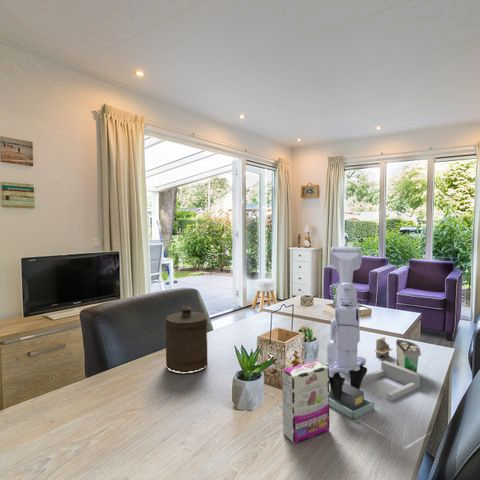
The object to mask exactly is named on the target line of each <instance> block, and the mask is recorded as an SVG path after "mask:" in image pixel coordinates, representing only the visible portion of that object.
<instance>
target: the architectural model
mask: <svg viewBox="0 0 480 480" xmlns="http://www.w3.org/2000/svg"><path fill="white" fill-rule="evenodd" d="M375 343H376V344H375V345H376V346H375V348H376V349H375V350H374V352H375V353H376V354H375V357H376V358H380V357H384V358H386V357H387V356H390V352H391V351H393V348H391V347H390V344H389V343H387V342H386V336H383V337H380V338H378V339H376V341H375Z"/></svg>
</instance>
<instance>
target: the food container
mask: <svg viewBox="0 0 480 480" xmlns="http://www.w3.org/2000/svg"><path fill="white" fill-rule="evenodd" d="M395 341H396V342H395V343H396V365H398V366H401V367H403V368H406V369H409V370H411V371H414V372H417V373H418V364H419V357H420V356H421V355H422V353H421V348H420V346H419V345H418V344H416V343H414V342H412V341H408V340H406V339H405V340H404V339H396V340H395Z"/></svg>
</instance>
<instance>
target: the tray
mask: <svg viewBox="0 0 480 480" xmlns="http://www.w3.org/2000/svg"><path fill="white" fill-rule="evenodd" d="M329 407H331V408H332V409H334V410H335V411H338V412H339V413H341V414H343V415H344V416H346V417H348V418H350V419H351V420H352V421H354V420H356V419H357V418H359V417H361V416H363V415H364V414H367V413H369V412H371V411H373V410H375V402H373V401H371V400H369V399H367V398H365V397H364V406H363V407H361V408H359V409H357V410H355V411H352V410H350V409H348V408H347V407H345V406H343V405H341V404H340V403H338V402H336V401H334V400H332V399H331V398H330V389H329Z"/></svg>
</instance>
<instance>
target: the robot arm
mask: <svg viewBox="0 0 480 480" xmlns="http://www.w3.org/2000/svg"><path fill="white" fill-rule="evenodd" d="M362 255H363V253H362V248H361V247H360V246H358V247H355V246H350V247H349V246H348V247H347V246H332V247H331V248H330V265H331V269H333V270H336V271H337V273H338V278H339V279H338V282H339V283H338V286H337V287H336V305H335V307H334V317H333V318H331V321H330V340H329V341H328V344H327V346H326V358H327V359H326V363H325V365H326V366H328V367H329V387H330V386H331V389H332V393H333V397H334V398H335V399H337V400H341V396H342V387H343V383H345V380H346V378H345V377H342V376H341V374H340V373H343V374H349V380H350V381H349V382H350V385H351V386H353V387H355V388H357V389H359V390H361V387H360V386H361V382H362V380H363V377H364V376H365V375H367V372H368V368H367V367H366V362H367V358H365V357H362V356H358V344H359V343H360V340H361V339H360V336H361V335H360V334H361V333H360V332H361V329H360V314H361V313H360V308H359V303H358V299H357V298H358V294H357V293H358V292H357V288H356V286H355V285H354V284H353V279H354V278H353V277H354V271H357V270H360V267H361V265H362V261H363V260H362V259H363V256H362Z"/></svg>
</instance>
